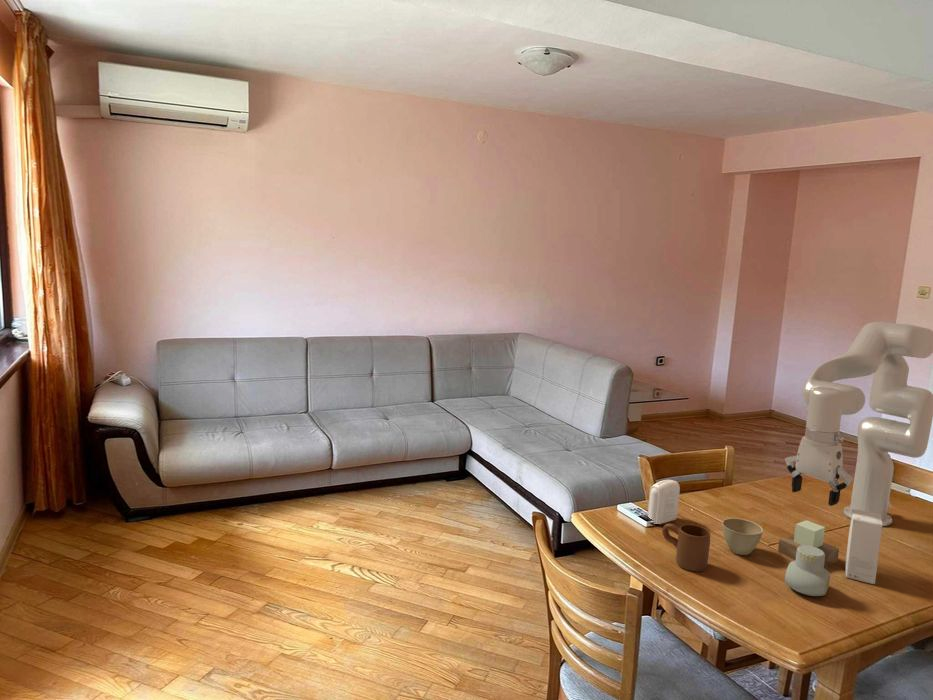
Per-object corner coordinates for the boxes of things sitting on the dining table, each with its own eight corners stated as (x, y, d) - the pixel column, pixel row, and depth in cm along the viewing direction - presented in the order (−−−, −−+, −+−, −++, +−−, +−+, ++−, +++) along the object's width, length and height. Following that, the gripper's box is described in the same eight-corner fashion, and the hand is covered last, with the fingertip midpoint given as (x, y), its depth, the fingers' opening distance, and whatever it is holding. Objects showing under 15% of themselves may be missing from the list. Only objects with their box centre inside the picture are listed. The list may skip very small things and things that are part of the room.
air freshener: (792, 574, 155) (797, 537, 153) (829, 587, 149) (835, 548, 148) (781, 592, 146) (786, 552, 145) (820, 605, 141) (826, 565, 139)
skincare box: (874, 585, 151) (884, 525, 148) (843, 577, 154) (851, 518, 152) (874, 571, 158) (882, 513, 155) (843, 563, 161) (852, 507, 159)
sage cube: (804, 537, 167) (806, 520, 167) (822, 545, 163) (825, 527, 162) (793, 541, 165) (795, 524, 164) (812, 549, 161) (814, 531, 160)
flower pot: (740, 540, 172) (743, 516, 171) (768, 557, 163) (771, 531, 162) (711, 544, 169) (713, 519, 168) (737, 562, 160) (740, 536, 159)
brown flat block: (801, 546, 171) (803, 532, 170) (836, 562, 162) (839, 548, 162) (777, 553, 166) (779, 539, 166) (812, 570, 158) (814, 556, 157)
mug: (654, 559, 160) (657, 525, 158) (665, 549, 165) (669, 516, 164) (701, 576, 152) (704, 540, 151) (711, 564, 158) (715, 530, 156)
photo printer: (667, 514, 188) (671, 475, 186) (679, 519, 184) (682, 480, 182) (644, 521, 182) (648, 481, 180) (656, 527, 179) (659, 486, 177)
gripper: (864, 442, 154) (856, 506, 157) (797, 424, 169) (790, 483, 172) (848, 447, 151) (840, 513, 154) (781, 428, 165) (774, 489, 168)
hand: (814, 497), depth 163 cm, fingers open, 9 cm apart
